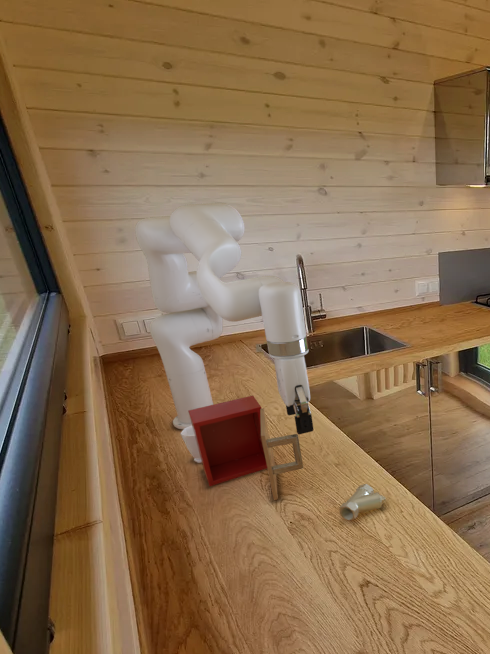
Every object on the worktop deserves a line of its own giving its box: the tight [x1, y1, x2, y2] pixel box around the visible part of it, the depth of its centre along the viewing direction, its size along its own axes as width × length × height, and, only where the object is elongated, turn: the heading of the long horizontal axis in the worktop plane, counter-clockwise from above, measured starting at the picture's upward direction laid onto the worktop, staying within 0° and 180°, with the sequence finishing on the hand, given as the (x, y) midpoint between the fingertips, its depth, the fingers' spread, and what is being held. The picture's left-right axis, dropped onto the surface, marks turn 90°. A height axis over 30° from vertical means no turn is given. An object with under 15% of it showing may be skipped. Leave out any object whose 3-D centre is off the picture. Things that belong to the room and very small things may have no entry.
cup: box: [179, 426, 202, 464], centre depth 121 cm, size 7×10×8 cm
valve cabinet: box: [188, 395, 268, 487], centre depth 114 cm, size 8×14×16 cm, turn 125°
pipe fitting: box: [339, 483, 387, 522], centre depth 100 cm, size 8×4×7 cm
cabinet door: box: [260, 407, 304, 501], centre depth 109 cm, size 7×14×16 cm, turn 22°
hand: (300, 422), depth 103 cm, fingers open, 9 cm apart
